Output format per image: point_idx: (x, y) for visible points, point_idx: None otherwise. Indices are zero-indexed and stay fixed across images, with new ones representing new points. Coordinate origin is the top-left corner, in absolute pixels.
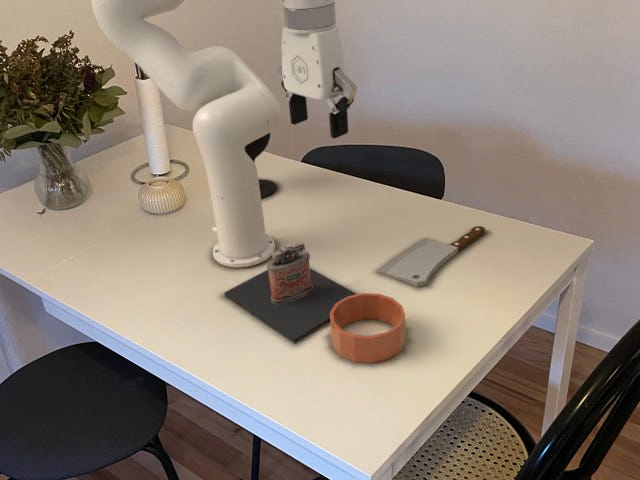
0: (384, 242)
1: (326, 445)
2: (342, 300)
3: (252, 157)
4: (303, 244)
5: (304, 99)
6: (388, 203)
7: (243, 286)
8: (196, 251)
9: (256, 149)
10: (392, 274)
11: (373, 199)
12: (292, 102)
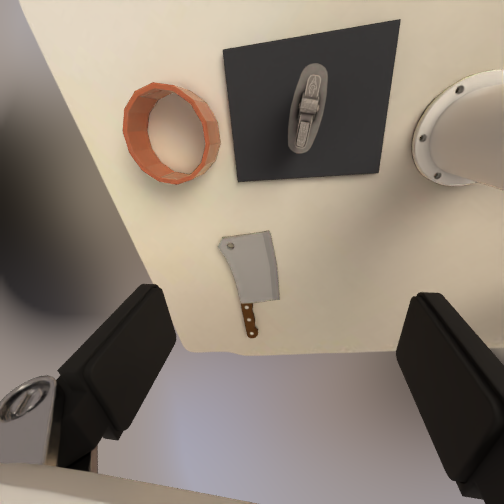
0: (309, 274)
1: None
2: (206, 133)
3: None
4: (296, 144)
5: (448, 464)
6: (365, 330)
7: (384, 62)
8: None
9: None
10: (253, 235)
11: (387, 328)
12: (496, 415)
